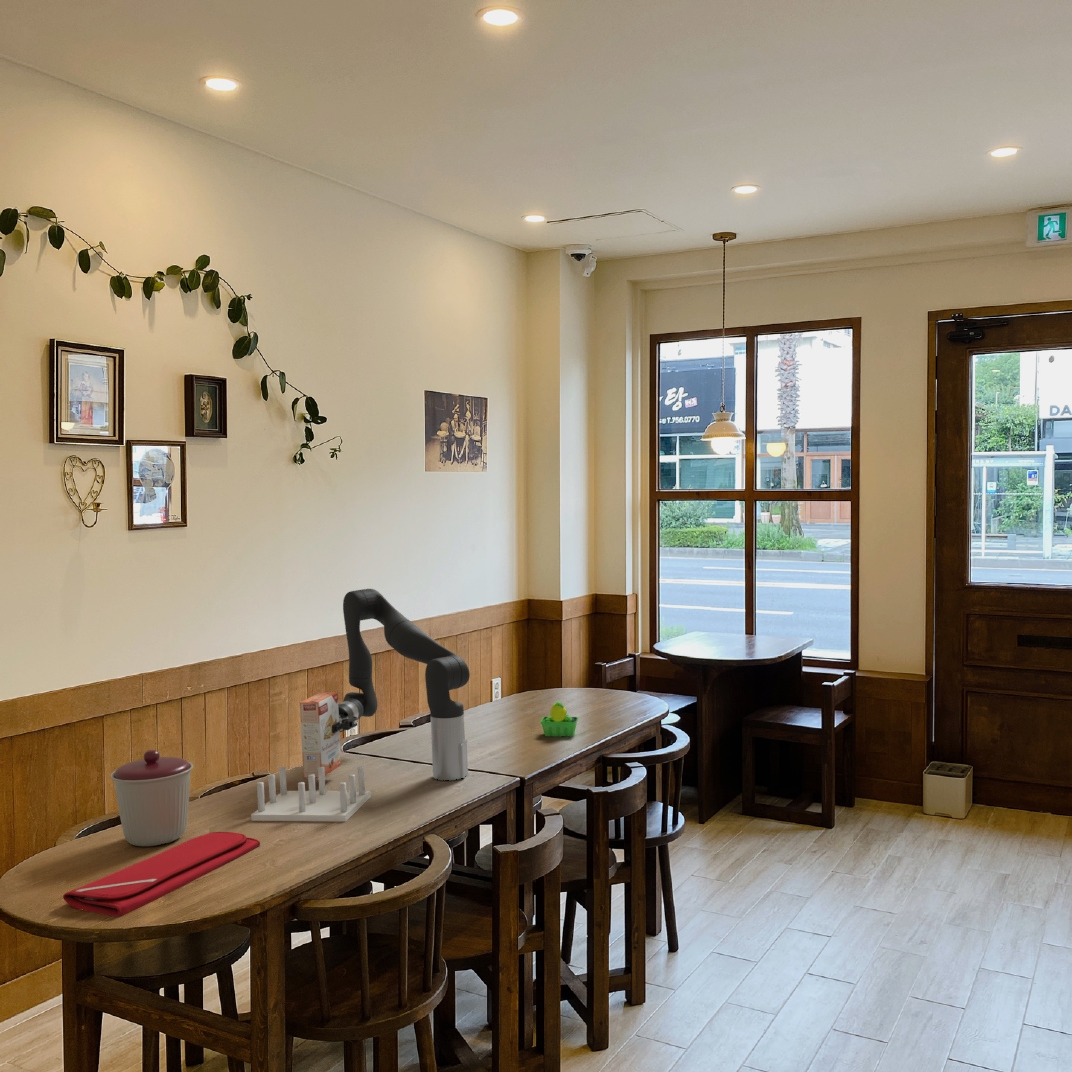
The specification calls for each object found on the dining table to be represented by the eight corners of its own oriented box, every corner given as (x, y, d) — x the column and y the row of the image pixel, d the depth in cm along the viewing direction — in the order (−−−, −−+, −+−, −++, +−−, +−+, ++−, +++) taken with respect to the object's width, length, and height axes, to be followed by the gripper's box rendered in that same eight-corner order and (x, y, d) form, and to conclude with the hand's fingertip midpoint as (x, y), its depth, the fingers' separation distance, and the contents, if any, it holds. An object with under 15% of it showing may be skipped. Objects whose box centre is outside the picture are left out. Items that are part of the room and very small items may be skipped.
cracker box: (323, 779, 270) (319, 701, 269) (302, 779, 271) (297, 702, 271) (343, 764, 284) (338, 691, 283) (322, 765, 285) (318, 691, 284)
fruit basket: (579, 732, 327) (577, 697, 327) (575, 738, 319) (574, 703, 318) (544, 731, 329) (543, 697, 329) (539, 738, 321) (538, 703, 320)
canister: (109, 836, 239) (104, 748, 239) (188, 822, 248) (184, 737, 247) (119, 859, 224) (114, 764, 223) (203, 842, 232) (199, 752, 232)
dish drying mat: (262, 848, 229) (261, 831, 229) (121, 920, 191) (120, 900, 191) (207, 841, 235) (206, 825, 235) (61, 909, 198) (60, 890, 197)
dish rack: (370, 796, 264) (369, 764, 263) (345, 821, 244) (344, 786, 244) (283, 796, 267) (281, 764, 267) (251, 820, 247) (249, 786, 247)
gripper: (317, 704, 295) (296, 716, 279) (365, 702, 293) (346, 715, 277) (319, 729, 296) (297, 743, 279) (366, 728, 294) (347, 742, 277)
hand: (322, 729), depth 278 cm, fingers closed on cracker box, 6 cm apart
